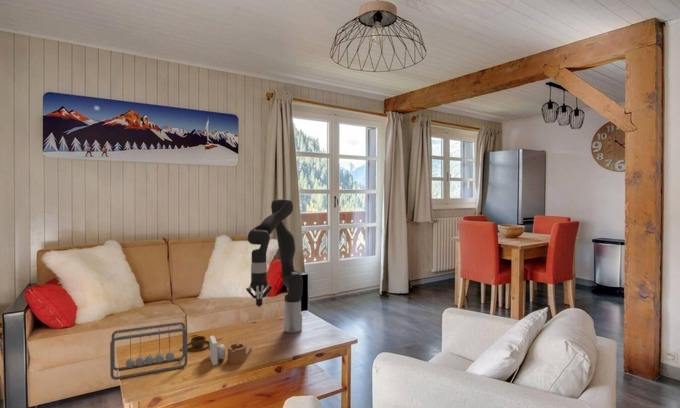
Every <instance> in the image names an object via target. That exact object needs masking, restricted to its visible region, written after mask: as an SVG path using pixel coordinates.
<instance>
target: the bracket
mask: <svg viewBox="0 0 680 408" xmlns="http://www.w3.org/2000/svg"><path fill="white" fill-rule="evenodd" d="M252 349H253V347H252V344H250V343H245V342H244V343H243V342H239V343H237V342H233V343H231V344H229V345H228V346H227V363H228V364H230V365H240V364H243V363H245V362H246V361H247V360H248V358H249V357H250V354H251V353H252Z"/></svg>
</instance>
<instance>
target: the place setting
mask: <svg viewBox="0 0 680 408" xmlns="http://www.w3.org/2000/svg"><path fill="white" fill-rule="evenodd" d="M206 344H207V345H208V346H207V345H206ZM205 345H206V346H205ZM190 346H192V347H193V348H189V347H190ZM203 346H205V347H203ZM204 350H208V351H209V352H210V340H207V339H206V336H204V335H198V336H194V337H191V338H190V342H187V351H190V352H200V351H204ZM179 351H181V352H183V346H181V348H180V349H179Z"/></svg>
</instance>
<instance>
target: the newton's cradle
mask: <svg viewBox="0 0 680 408" xmlns="http://www.w3.org/2000/svg"><path fill="white" fill-rule="evenodd" d="M177 326H179V328H174V329H173V328H172V329H170V327H177ZM162 328H167V329H166V330H165V329H164V330H161V329H162ZM154 329H158V330H157V331H149V332H144V333H134V334H131V333H133V332H141V331H146V330H154ZM179 332H182V347H183V350H182V355H181V356H180V357H175V354H174V352H173V351H171V341H170V340H171V339H170V337H171V336H170V333H179ZM125 333H129V335H122V336H121V335H119V334H125ZM165 334H168V348H169V351H168V352H167V353H166V354H165V355H164V354H162V353H161V335H165ZM118 335H119V336H118ZM157 335H158V344H159V348H158V350H159V351H158V352H159V353H158V354H156V356H154V355H151V354H149V355H148V356H147V357H144V356H141V353H142V350H141V347H142V346H141V341H142V340H141V338H145V337H151V336H157ZM115 336H116V337H115ZM136 338H139V341H140V342H139V345H140V346H139V351H140V352H139V353H140V354H139V356H138V357H137V358H136V359H134V358H132V351H131V349H132V348H131V347H132V345H131V344H132V341H131V340H132V339H136ZM121 340H129V347H130V349H129V350H130V354H129V358H128V359H127V360H126V361H125V366H122V367H121V366H119V367H116V364H115V363H116V362H115V361H116V357H115V355H116V354H115V353H116V352H115V349H116V348H115V344H116V343H115V342H116V341H121ZM187 344H188V331H187V329H186V325H185V323H184V322H182V321H178V322H172V323H164V324H156V325H149V326H141V327H134V328H126V329H119V330H115V331H113V332H112V334H111V341H110V342H109V346H110V347H109V349H110V350H109V351H110V352H109V353H110V354H109V359H110V360H109V361H110V362H109V363H110V364H109V365H110V367H109V368H110V369H109V370H110V378H111V379H112V380H114V381H116V380H123V379H127V378H133V377H140V376H145V375H151V374H156V373H161V372H168V371H172V370H177V369H182V368H186V366H187V364H188V350H187ZM183 359H184V363H183V364H182V360H183ZM177 361H179V362H180V365H176V366H172V367H171V366H170V367H165V368H159V369H154V370H149V371H142V372H137V373H131V374H126V375H119V371H121V370H122V371H123V370H129V369H135V368H140V367H145V366H150V365H158V364H165V363H170V362H177ZM114 371H117V372H116V376H115V375H114V374H115V373H114Z"/></svg>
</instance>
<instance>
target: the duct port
mask: <svg viewBox="0 0 680 408" xmlns="http://www.w3.org/2000/svg"><path fill="white" fill-rule="evenodd" d="M209 342H210V351H209V359H210V361H211V364H212V366H217V365H219V361H220V360H222V359H225V358H226V348H225V344H224V343H223V344H218V342H217V339H216V337H215V335H210V336H209Z"/></svg>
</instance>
